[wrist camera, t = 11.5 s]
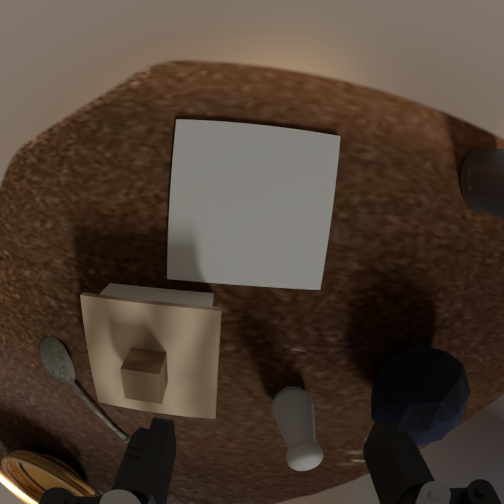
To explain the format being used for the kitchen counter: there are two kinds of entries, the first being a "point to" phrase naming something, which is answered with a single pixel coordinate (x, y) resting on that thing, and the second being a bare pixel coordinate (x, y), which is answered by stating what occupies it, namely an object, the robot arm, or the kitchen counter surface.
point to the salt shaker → (297, 427)
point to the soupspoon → (66, 372)
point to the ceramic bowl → (42, 474)
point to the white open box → (159, 294)
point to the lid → (153, 354)
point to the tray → (250, 204)
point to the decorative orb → (421, 393)
